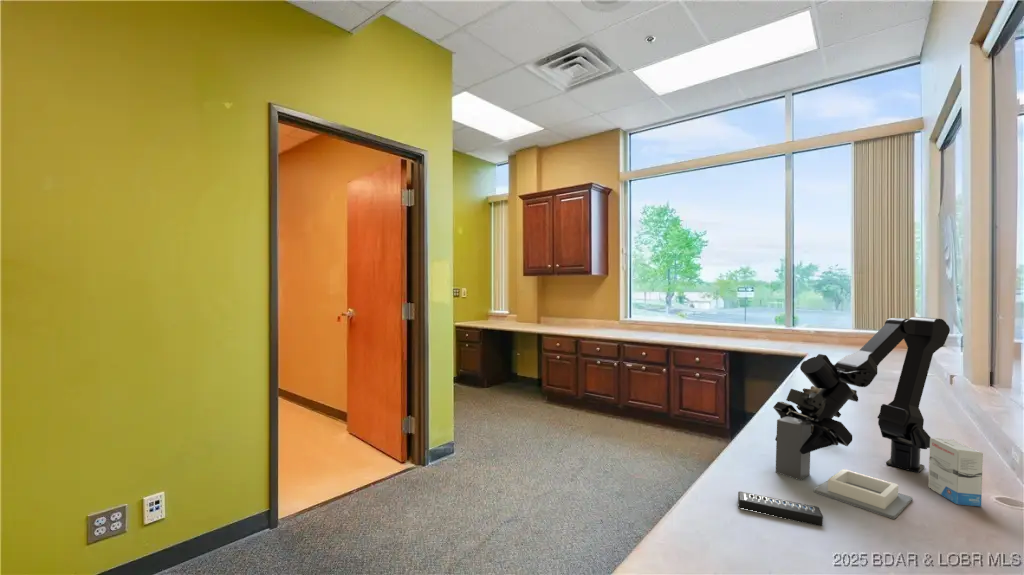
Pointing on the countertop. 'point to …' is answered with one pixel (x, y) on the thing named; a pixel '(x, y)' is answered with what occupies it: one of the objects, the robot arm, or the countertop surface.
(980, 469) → the ink box
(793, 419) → the plug
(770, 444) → the countertop surface
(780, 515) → the multiport hub
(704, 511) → the countertop surface
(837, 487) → the socket board
